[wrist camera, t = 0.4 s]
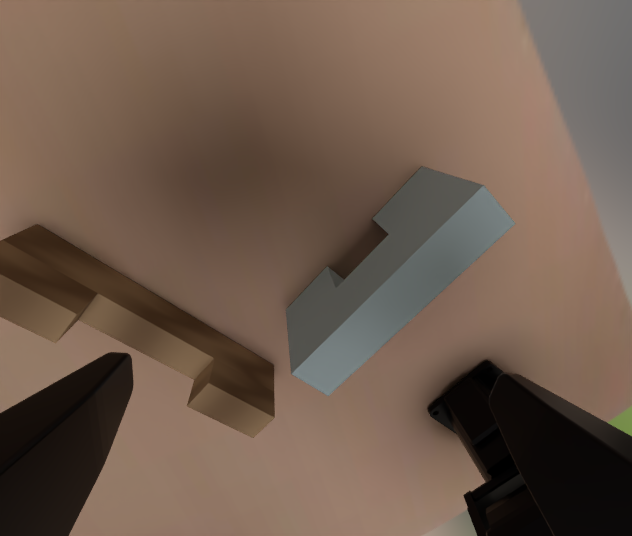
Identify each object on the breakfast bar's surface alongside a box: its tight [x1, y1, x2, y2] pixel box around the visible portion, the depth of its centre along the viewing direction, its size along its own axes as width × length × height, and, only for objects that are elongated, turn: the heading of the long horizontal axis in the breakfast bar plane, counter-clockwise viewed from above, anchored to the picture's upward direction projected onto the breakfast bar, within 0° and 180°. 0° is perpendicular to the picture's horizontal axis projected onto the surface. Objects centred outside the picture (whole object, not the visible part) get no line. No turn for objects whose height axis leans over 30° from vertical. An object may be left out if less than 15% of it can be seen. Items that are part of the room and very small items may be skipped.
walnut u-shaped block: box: [0, 224, 275, 438], centre depth 18 cm, size 16×2×4 cm, turn 48°
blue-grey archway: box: [286, 167, 515, 396], centre depth 18 cm, size 2×12×6 cm, turn 138°
